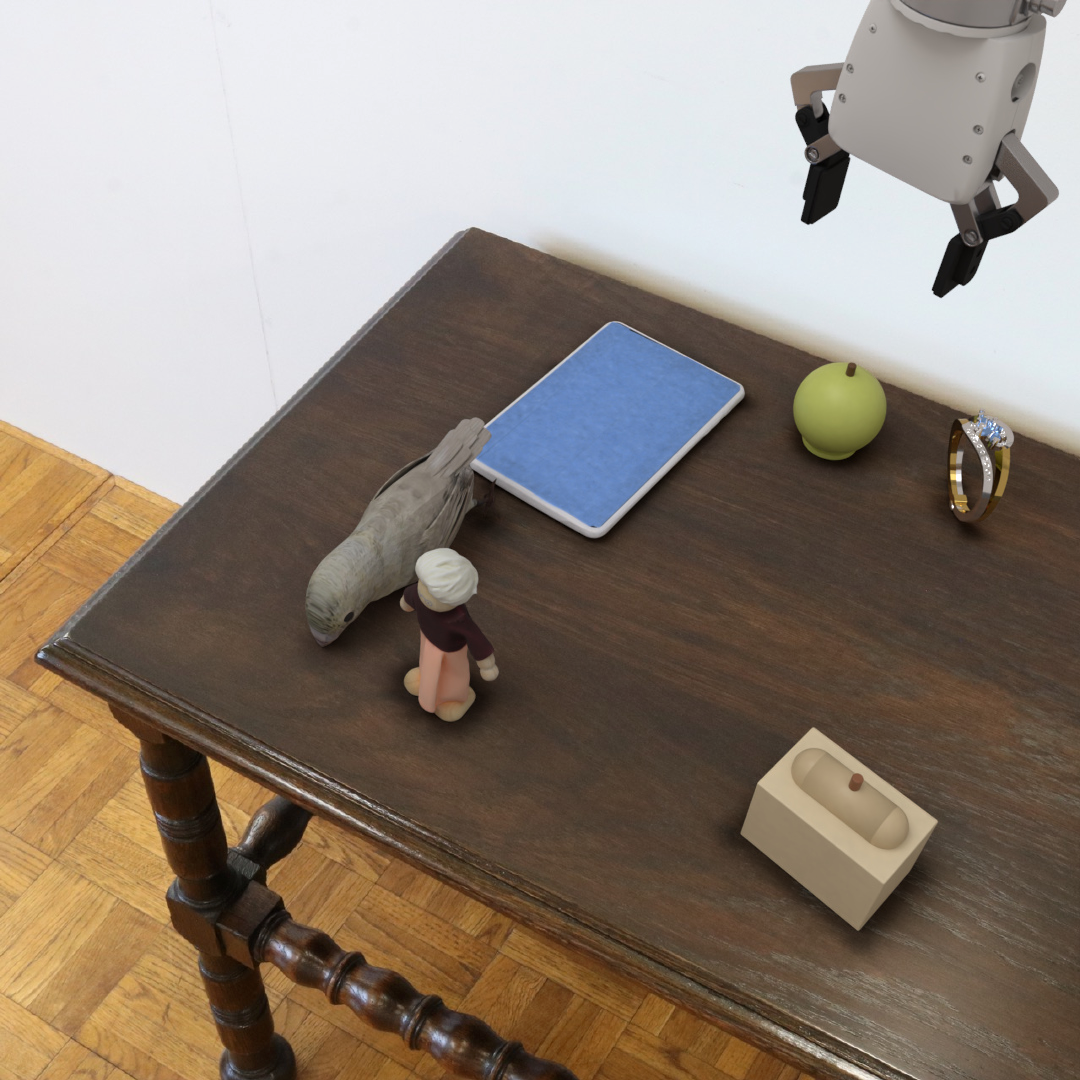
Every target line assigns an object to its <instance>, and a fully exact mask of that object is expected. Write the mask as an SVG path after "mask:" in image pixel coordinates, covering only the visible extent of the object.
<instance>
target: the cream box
mask: <svg viewBox="0 0 1080 1080" xmlns="http://www.w3.org/2000/svg"><path fill="white" fill-rule="evenodd" d="M754 789H755V790H754V792H753V795H752V798H751V801H750V804H749V807H748V810H747V812H746V816H745V819H744V822H743V824H742V827H741V829H740V835H741V836H742V837H743V838H744V839H746V840H747V841H748V842H749V843H750V844H752V845H753V846H754V847H755V848H756V849H758V850H759V851H760V852H762V854H764V855H765V856H766V857H768V858H769V859H770V860H771V861H773V863H774V864H776V865H777V866H778V867H780V868H781V869H782V870H783V871H785V873H787V874H788V875H789V876H790V877H792V878H793V879H794V880H795V881H796V882H798V884H800V885H801V886H803V887H804V888H805V889H806V890H808V891H809V893H811V894H812V895H814V896H815V897H816V898H817V899H818V900H820V901H821V902H822V903H823V904H824V905H825V906H827V907H828V908H829V909H831V910H832V911H833V912H834V913H835V914H836V915H838V916H839V917H840V918H841V919H843V920H844V921H845V922H846V923H847V924H849V925H850V926H851V927H852V928H853V929H855V930H856V931H857V932H859V931H860V930H861V929H863V927H864V926H865V925H866V924H867V923H868V921H869V920H870V919H871V918H872V917H873V915H874V914H875V913H876V912H877V910H878V909H880V907H881V906H882V905H883V903H884V902H885V901H886V900H887V899H888V898H889V896H891V894H892V893H893V892H894V890H895V889H896V888H897V887H898V886H899V885H900V883H901V882H902V881H903V880H904V879H905V878H906V876H907V875H908V874H909V873H910V872H911V870H912V868H913V867H914V865H915V863H916V862H917V860H918V858H919V856H920V855H921V853H922V851H923V850H924V847H925V846H926V844H927V842H928V840H929V839H930V838H931V836H932V834H933V832H934V830H935V828H936V826H937V825H938V823H939V821H938V819H936V818H935V817H934V816H932V815H931V814H929V813H928V812H927V811H926V810H924V809H923V808H922V807H920V806H919V805H918V804H916V803H915V802H914V801H913V800H911V799H910V798H908V797H907V796H906V795H904V794H903V793H901V792H900V791H899V790H898V789H897V788H896V787H894V786H893V785H891V784H890V783H889V782H887V781H886V780H884V779H883V778H882V777H880V776H879V775H878V774H877V773H875V772H874V771H873V770H871V769H870V768H869V767H868V766H866V765H864V764H863V763H862V762H861V761H860V760H858V759H857V758H856V757H854V756H852V755H851V753H849V752H848V751H846V750H845V749H843V748H842V747H841V746H839V745H838V744H837V743H835V741H833V740H831V738H829V737H827V736H826V735H825V734H824V733H822V732H821V731H820V730H818V729H817V728H816V727H813V726H812V727H811V728H810V729H809V730H808V731H807V732H806V733H805V734H804V735H803V736H802V737H801V738H800V739H799V740H798V741H797V742H796V743H795V745H793V746H792V747H791V748H790V749H789V750H788V751H787V752H786V753H785V754H784V755H783V756H782V757H781V758H780V759H779V760H778V761H777V762H776V764H774V765H773V767H771V768H770V769H769V770H768V771H767V772H766V773H765V774H764V776H763V777H761V778H760V779H759V780H758V782H757V784H756V786H755V788H754Z"/></svg>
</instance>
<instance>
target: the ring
mask: <svg viewBox="0 0 1080 1080" xmlns="http://www.w3.org/2000/svg"><path fill="white" fill-rule="evenodd" d="M985 414H986V409H985V408H981V407H980V408H979V412H978V413H977V415H973V416H971V417H969V418H965V417H964V418H963V417H962V418H955V419H954V420H953V422H952V423H951V424H952V425H951V428H950V432H949V438H948V445H947V457H946V458H947V460H946V474H947V475H946V476H947V478H946V479H947V488H948V489H947V490H948V497H949V501H948V502H949V504H948V505H949V509H950V511H953V513H954V515H955V518H956V519H958V520H959V521H960V522H964V523H965V522H966V523H974V524H975V523H976V524H977V523H981V522H983V521H985V520H986V519H988V518H989V517H990V515H991V514H992V513H993V512H994V511H995V509H996V508H997V506H998V504H999V503H1000V501H1001V499H1002V497H1003V494H1004V492H1005V489H1006V487H1007V482H1008V478H1009V474H1010V466H1011V447H1012V445H1013V443H1014V442H1015V441H1014V440H1015V436H1014V433H1013V431H1012V428H1010V426H1009V425H1007V424H1006V423H1005V422H1004V421H1002V420H1000V419H999V416H991V415H985ZM967 441H968V442H969V443H970V445H971V447H972V448H973V450H974V452H975V454H976V456H977V459H978V461H979V464H980V470H981V485H980V491H979V495H978V498H977V501H976V503H975V505H974V506H973V507H972V509H970V508H969V507H968V505H967V504H968V497H967V495H966V494H964V491H963V484H962V465H963V455H964V451H965V446H966V443H967ZM1000 441H1001V442H1000ZM987 450H988V451H990V452H991V451H994V459H995V468H994V469H995V470H994V474H993V464H992V461H991V458H990V455H989V453H988V451H987Z"/></svg>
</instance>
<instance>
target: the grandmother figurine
mask: <svg viewBox="0 0 1080 1080" xmlns="http://www.w3.org/2000/svg"><path fill="white" fill-rule="evenodd" d="M415 571H416V574H417V576H418V578H419V581H417V583H413V584H410V585H408V586H406V587H405V588H404V590H403V593H402V597H401V598H400V601H399V605H400V608H401V609H402V610H403V611H404V612H408V613H410V612H414V611H415V613H416V619H417V622H418V625H419V631H420V646H419V660H418V661H419V662H418V663H419V664H418V665H419V666H417V667H414V668H411V669H409V671H408V672H407V673H406V674H405V676H404V679H403V685H404V688H405V689H406V690H407V692H408V693H410V694H411V695H413V696H416V697H418V702H419V705H420V707H421V708H422V709H423V710H424V711H425V712H428V713H431V714H435V715H436V716H437V717H438V718H439V719H440V720H442V721H445V722H456V721H458V720H460V719H462V717H463V716H464V715H465V714H466V712H467V711H468V710H469V709H470V708H471V706H472V705H473V704H474V702H475V699H476V692H475V691H474V689H473V688H472V687H471V686H470V680H471V679H470V678H471V674H470V661H469V658H468V651H469V653H470V655H471V656H472V658H473V660H474V661H475V663H476V665H477V667H478V668H480V669H479V673H480V676H481V678H482V679H483V680H484V681H487V682H492V681H495V680H496V679H497V677H498V676H499V675H500V673H499V672H500V671H499V667H498V665H496V658H495V655H494V653H495V647H494V645H493V644H492V643H491V641H490V640H489V639H488V637H487V636H486V635H485V634H484V632H483V631H482V629H481V628H480V627H479V626H478V624H477V623H476V622H475V621H474V620H473V618H472V616H471V614H470V612H469V610H468V607H467V606H466V604H465V603H467V602H468V601H469V600H470V599H471V598H472V596H473V595H475V594H476V595H477V594H478V584H479V573H478V571H477V569H476V567H474V565H473V564H472V562H471V561H470V560H469V559H468V558H467V557H464V556H463V555H461V554H459V553H458V552H457V551H456V550H454V549H451V548H450V547H449V548H439V549H435V550H432V551H429V552H426V553H424V554H423V555H422V556H421V557H419V559H418V560H417V563H416V566H415Z"/></svg>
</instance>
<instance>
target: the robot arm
mask: <svg viewBox="0 0 1080 1080" xmlns="http://www.w3.org/2000/svg"><path fill="white" fill-rule="evenodd" d="M1067 1H1068V0H870V1H869V3H868V5H867V7H866V9H865V11H864V13H863V15H862V17H861V20H860V22H859V24H858V27H857V28H856V31H855V33H854V36H853V38H852V41H851V44H850V46H849V49H848V52H847V55H846V57H845V60H844V61H843V62H833V63H823V64H814V65H812V64H811V65H805V66H804V67H802V68H800V69H799V70H797V71H794V72H793V73H792V74H791V75H790V79H789V80H790V87H791V93H792V98H793V102H794V107H796V112H795V115H794V121H795V124H796V125H797V127H798V130H799V132H800V135H801V136H802V139H803V140H804V143H805V145H806V147H805V148H804V152H803V153H804V159H805V160H806V161H807V162H808V163H809V168H808V172H807V176H806V180H805V184H804V189H803V192H802V200H803V201H804V204H803V209H802V212H801V216H800V222H801V223H803V224H805V225H807V226H810V225H814V224H815V223H817V222H819V221H820V220H822V219H823V218H824V217H826V216H827V215H829V214H830V213H832V212H833V211H835V210H836V209H837V207H838V206H839V203H840V200H841V196H842V192H843V188H844V185H845V182H846V177H847V173H848V171H849V166H850V162H851V157H850V155H851V156H853V157H855V158H857V159H859V160H860V161H863V162H864V163H867V164H868V165H870V166H872V167H874V168H876V169H877V170H880V171H882V172H884V173H885V174H888V175H889V176H892V177H893V178H896V179H897V180H899V181H901V182H903V183H906V184H908V185H909V186H911V187H913V188H915V189H917V190H918V191H921V192H923V193H925V194H927V195H929V196H931V197H933V198H935V199H937V200H940V201H941V202H944V203H948V204H949V207H950V209H951V213H952V215H953V218H954V221H955V223H956V227H957V229H958V232H957V234H955V235H954V236H952V237H951V238H950V240H949V241H948V243H947V245H946V248H945V251H944V254H943V256H942V259H941V262H940V265H939V267H938V270H937V272H936V276H935V278H934V281H933V284H932V287H931V291H932V295H934V296H936V297H938V298H939V299H942V298H944V297H945V296H946V295H947V294H949V293H950V292H952V291H953V290H954V289H955V288H956V287H958V286H959V285H960V286H962V287H965V286H966V285H968V284H969V283H971V281H972V280H973V279H974V277H975V276H976V274H977V272H978V270H979V267H980V265H981V262H982V259H983V257H984V255H985V251H986V249H987V246H988V244H989V242H990V241H991V240H994V239H997V238H1000V237H1003V236H1007V235H1010V234H1012V233H1014V232H1016V231H1017V230H1019V229H1020V228H1021V227H1023V225H1025V224H1026V223H1028V222H1029V221H1030V220H1032V219H1033V218H1034V217H1035V216H1037V215H1038V214H1039V213H1041V212H1042V211H1043V210H1045V209H1046V208H1048V207H1049V206H1050V205H1051V204H1052V203H1054V202H1055V201H1056V200H1057V199H1058V198H1059V195H1060V189H1059V188H1058V187H1057V185H1056V184H1055V183H1054V182H1053V180H1052V179H1051V178H1050V176H1049V175H1048V173H1046V172H1045V170H1044V169H1043V168H1042V167H1041V166H1040V164H1039V163H1038V161H1037V160H1036V158H1034V156H1033V155H1032V154H1031V153H1030V152H1029V150H1028V149H1027V147H1025V145H1024V144H1023V143H1022V142H1021V141H1022V137H1023V134H1024V131H1025V127H1026V124H1027V121H1028V117H1029V113H1030V110H1031V108H1032V102H1033V99H1034V94H1035V91H1036V88H1037V82H1038V78H1039V73H1040V68H1041V64H1042V58H1043V53H1044V48H1045V47H1044V46H1045V39H1046V35H1047V34H1046V32H1047V24H1048V23H1047V19H1046V17H1045V16H1044V15H1046V16H1049V17H1052V18H1056V17H1058V15H1060V14H1061V12H1062V11H1063V9H1064V7H1065V6H1066V3H1067ZM1043 14H1044V15H1043ZM826 91H827V92H829V91H834V94H833V99H832V102H831V106H830V111H829V109H828V108H827V105H826V104H825V103H824V101H823V100H822V99H824V97H823V92H826ZM1004 178H1006V180H1007V181H1008V182H1009V184H1010V185H1011V186H1012V187H1013V188H1014V190H1015V191H1016V193H1017V196H1018V197H1017V200H1016V202H1014V203H1011V204H1008V205H1005V206H1002V204H1001V201H1000V198H999V196H998V192H997V189H996V186H995V184H994V181H996V182H998V183H1000V182H1001V181H1002V180H1003V179H1004Z"/></svg>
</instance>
